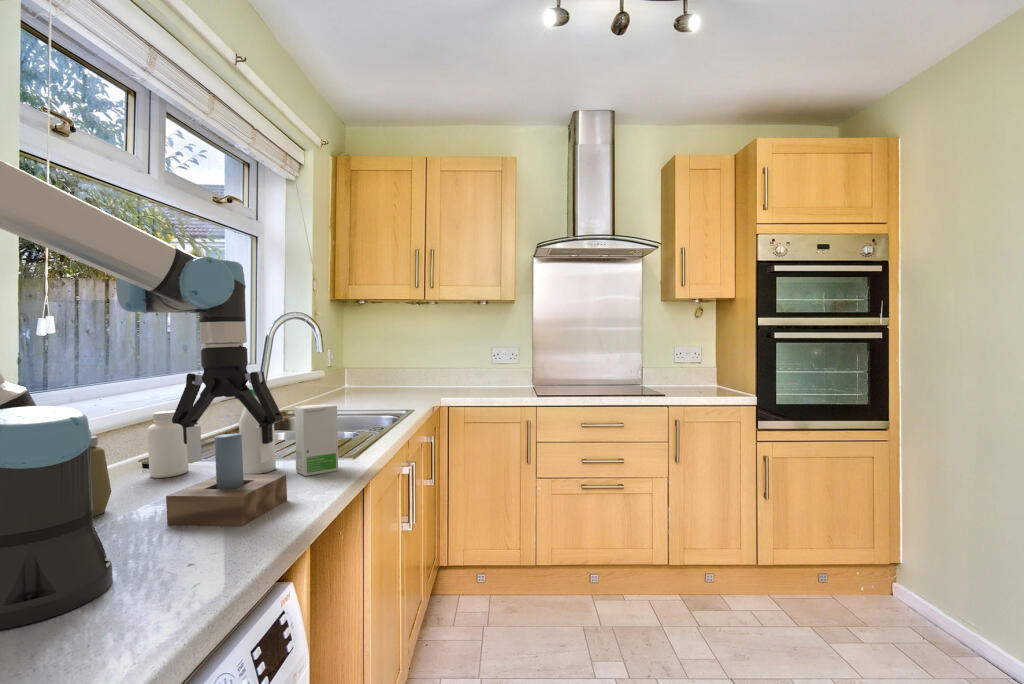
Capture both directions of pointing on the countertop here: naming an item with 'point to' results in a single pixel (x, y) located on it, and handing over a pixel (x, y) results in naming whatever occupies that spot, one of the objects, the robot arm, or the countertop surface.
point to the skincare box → (316, 439)
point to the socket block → (226, 501)
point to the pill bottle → (166, 447)
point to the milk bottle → (254, 445)
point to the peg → (229, 461)
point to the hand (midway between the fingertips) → (228, 461)
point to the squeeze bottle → (99, 478)
